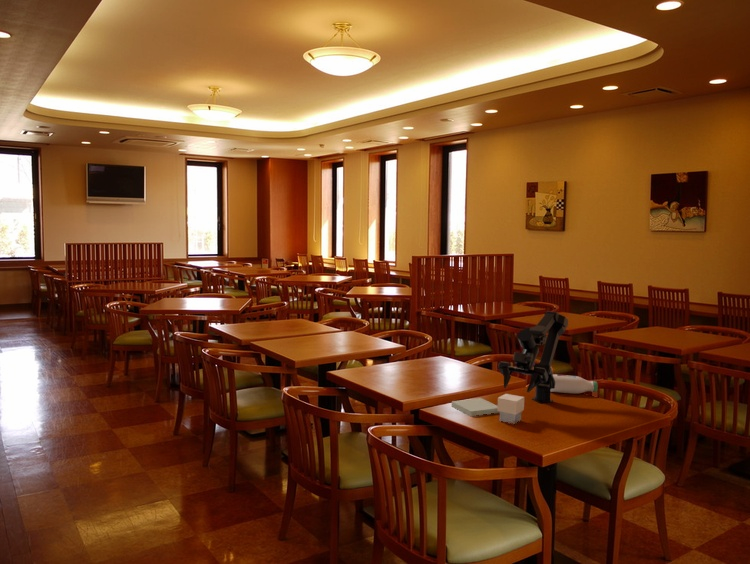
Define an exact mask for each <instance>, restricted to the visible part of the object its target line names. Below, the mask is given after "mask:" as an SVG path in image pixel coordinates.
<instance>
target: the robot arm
mask: <svg viewBox="0 0 750 564" xmlns="http://www.w3.org/2000/svg"><path fill="white" fill-rule="evenodd" d="M568 325H569V320H568V318H567V317H566V316H565V315H562V314H560V313H559V312H557V311H551V310H547V311H545V312H544V315H543V316H542V318H541V319H540V320H539V321H538V323H537V324H536V325H535V326H531V327H525V326H524V329H521V330H520V331H519V332H518V333H517V337H516V338H517V340H518V342H519V345H520V347H521V349H522V352H517V351H514V353H513V357H512V361H514V365H515V366H513V365H512V364H511V363H510V362H508V361H502V360H501V361H500V362H499V363H498V365H497V367H498V369H499V371H500V375H501V374H502V376H503V388H504V389H506V388H507V387H508V384H509V382H510V380H511V377H512V373H517V374H522V375H529V376H530V382H529V383H528V386H527V389H526V392H527V394H528V393H530V392H531V391H532V390H533V389H535V392H534V393H535V394H534V397H531V400H533V401H535V402H537V403H538V404H546V403H554V400H552V399H551V393H552V392H551V389H554V388H555V380H554V377H553V374H554V371H553V370H552V363H553V360H554V356H555V354H556V353H555V352H556V349H557V346H558V343H559V340H560V337H561V336H562V335H563V334H564V333H565V331H566V329H567V327H568ZM539 346H544V347H543V351H542V353H541V358H540V361H539V362H538V363H537V362H536V358H537V357H538V355H540V351H539V350H540V347H539Z"/></svg>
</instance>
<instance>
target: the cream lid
mask: <svg viewBox="0 0 750 564" xmlns="http://www.w3.org/2000/svg"><path fill="white" fill-rule="evenodd" d="M524 410H525V396H520V395H516V394H511V393H504V394H503V395H500V396H499V397H497V411H500V412H505V413H510V414H514V415H517V414H518V413H520V412H521V413H522V412H523V411H524Z"/></svg>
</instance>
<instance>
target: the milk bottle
mask: <svg viewBox="0 0 750 564" xmlns="http://www.w3.org/2000/svg"><path fill="white" fill-rule="evenodd" d="M553 377H554V380H555V388H554V389H551V391H550V392H551V393H561V394H574V395H575V394H582V393H587V392H592V393H597V391H598V387H599V386H598V381H595V380H587V379H584V378H583V377H581V376H577V375H566V374H554V373H553Z"/></svg>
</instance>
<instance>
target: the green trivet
mask: <svg viewBox="0 0 750 564" xmlns="http://www.w3.org/2000/svg"><path fill="white" fill-rule="evenodd" d="M497 406H498V404H494V403H492V402H491V401H488V400H486V399H484V398H482V397H478V398H471V399H470V398H469V399H461V400H452V401H451V407H452V408H454V409H456V410H457V411H460V412H462V413H463V414H465V415H467V416H470V417H471V416H472V417H477V416H476V415H479V416H484V415H483V414H487V415H492V414H491V413H494V414H500V411H497Z"/></svg>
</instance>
